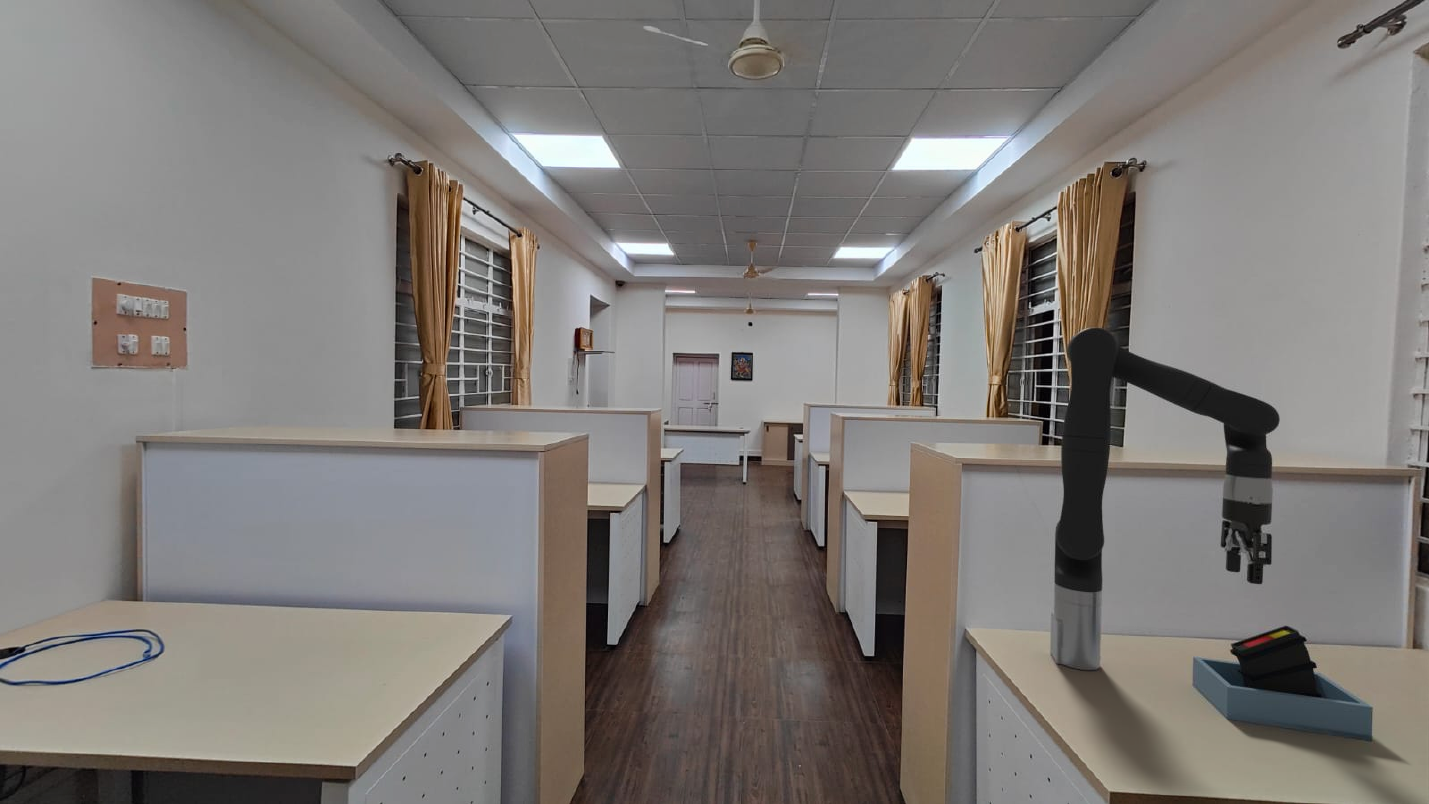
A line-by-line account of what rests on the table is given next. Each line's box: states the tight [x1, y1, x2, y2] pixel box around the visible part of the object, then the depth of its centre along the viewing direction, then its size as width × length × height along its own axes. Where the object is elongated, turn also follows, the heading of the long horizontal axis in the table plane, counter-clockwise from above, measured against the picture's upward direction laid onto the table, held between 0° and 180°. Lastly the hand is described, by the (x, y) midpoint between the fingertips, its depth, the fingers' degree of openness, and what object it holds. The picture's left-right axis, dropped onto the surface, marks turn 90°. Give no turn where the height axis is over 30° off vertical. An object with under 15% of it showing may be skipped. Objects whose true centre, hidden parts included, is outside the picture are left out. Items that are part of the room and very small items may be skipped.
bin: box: [1191, 656, 1374, 742], centre depth 114 cm, size 21×14×6 cm, turn 72°
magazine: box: [1229, 625, 1321, 698], centre depth 115 cm, size 4×13×15 cm, turn 80°
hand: (1243, 577), depth 121 cm, fingers open, 8 cm apart
